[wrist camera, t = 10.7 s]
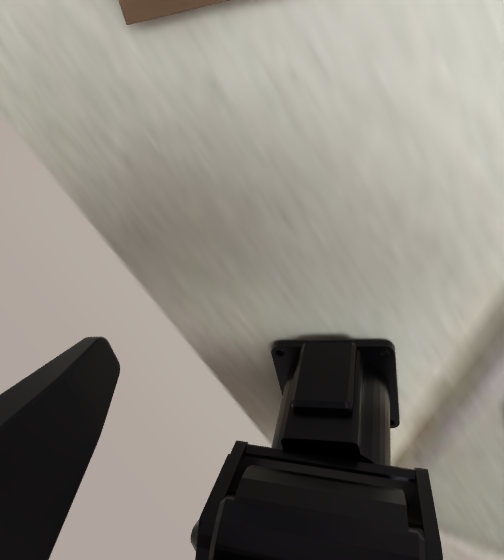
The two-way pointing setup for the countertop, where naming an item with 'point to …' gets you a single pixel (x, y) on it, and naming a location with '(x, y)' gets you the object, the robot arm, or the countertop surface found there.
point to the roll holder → (158, 8)
